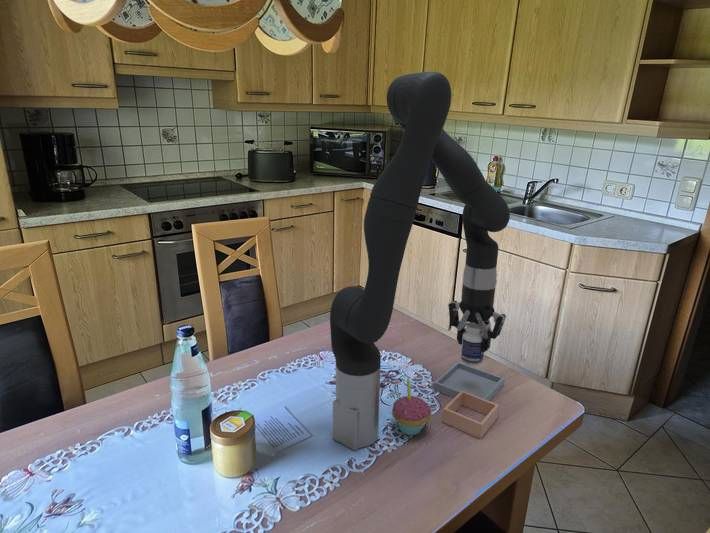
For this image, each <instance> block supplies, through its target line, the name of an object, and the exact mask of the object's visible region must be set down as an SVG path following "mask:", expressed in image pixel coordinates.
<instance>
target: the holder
mask: <svg viewBox="0 0 710 533" xmlns="http://www.w3.org/2000/svg"><path fill="white" fill-rule="evenodd" d="M462 406H463V407H465V408H467V409H471V410H473V411H476V412H478V413H481V414H482V415H485V417H484V418H483V419H482V421H481V422H480V421H478V420H476V419H473V418H471V417H468V416H466V415H464V414H461V413H460V412H457V411H458V410H459V409H460V408H461V407H462ZM499 409H500V405H499V404H498V403H496V402H493V401H491V400H490V401H488V400H485V399H483V398H480V397H478V396H475V395H472V394H470V393H467V392H465V391H461V392H460V393H459V394H458V395H457V396H456V397H455V398H452V399H451V400H450V402H448V404H447V405H445V406H444V407H443V411H442V423H444V424H447V425H449V426H450V427H454V428H456V430H457V429H458V430H460V431H462V432H464V433H465V434H466V433H467V434H468V435H471V436H473V437H475V438H478V439H480V440H481V439H482V438H483V437H484V436H485V434H486V433H487V432H488V430H489V429H490V428H491V427H492V425H493V424H494V423H495V422H496V421H497V419H498V416H499Z"/></svg>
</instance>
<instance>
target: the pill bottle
mask: <svg viewBox="0 0 710 533" xmlns="http://www.w3.org/2000/svg"><path fill="white" fill-rule="evenodd" d="M465 329H466V331H465V332H464V333H463V337H462V345H461V349H460V350H461V351H460V361H461V363H463V364H466V365H469V366H472V367H476V366H477V367H478V366H479V365H481V364H483V362H484V361H483V360H484V354H485V352H482V351H481V349H482V339H483V338H484V336H483V333H482V330H480V327H479V325H478V324H475V323H474V322H468V323H467V325H466V326H465Z"/></svg>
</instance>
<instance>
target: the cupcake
mask: <svg viewBox="0 0 710 533" xmlns="http://www.w3.org/2000/svg"><path fill="white" fill-rule="evenodd" d="M406 384H407V385H406V386H407V395H405V396H404V395H403V396H402V397H400V398H398V399H396V400H395V401H394V402H393V404H392V409H391V410H392V411H391V413H392V414H391V415H392V417H393V418H394V419H395V421H396V423H397V424H398V425H397V426H398V428H399V431H400V432H401V433H403V434H404V435H408V436H414V435H418V434H419V433H420V432H421V431H422V428H423V426H424V424H426V423H427V422H428V421H431V418H432V408H431V406H430V405H429V403H428V402H426V401H425V400H424V399H423V398H421V397H419V396H414V395H412V394H411V392H412V391H411V380H410V379H409V376H407V380H406Z"/></svg>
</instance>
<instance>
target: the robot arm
mask: <svg viewBox="0 0 710 533" xmlns="http://www.w3.org/2000/svg"><path fill="white" fill-rule="evenodd" d="M451 104H452V88H451V84H450V82H449V80H448V78H447V77H446V76H445V74H444V73H441V72H439V71H425V72H416V73H414V72H413V73H407V74H403V75H399V76H398V77H396V78H395V79H393V80H392V82H391V83H390V85H389V87H388V89H387V92H386V105H387V108H388V111H389V113H390V115H391V116H392V118H393V119H394V120H395V121H396V123H397V124H398V125H399V126H400V127H401V128H402V129H403V130H404V131H403V136H402V138H401V141H400V143H399V146H398V148H397V151H395V154H394V155H393V156H392V157H391V160H390V161H389V162H388V163H387V165H386V166H385V168H384V169H383V170H382V172H381V173H380V174H379V176H378V177H377V179H376V181H375V182H374V184H373V186H372V189H371V191H370V193H369V194H370V195H369V198H368V202H367V205H366V209H365V213H364V216H363V217H364V219H363V234H364V240H365V242H364V243H365V246H366V253H367V259H368V260H367V261H368V262H367V263H368V266H367V268H368V269H367V277H366V282H365V284H364V285H365V287H364V289H363V288H361V287H358V286H355V285H352V286H351V285H350V286H346V287H344V288H342V289H341V290H339V291H338V292H337V293H336V295H335V296H334V298H333V299H332V303H331V306H330V312H329V325H330V344H331V351H332V354H333V356H334V359H335V399H334V400H332V439H333V440H335V441H336V442H339V443H340V444H342V445H343V446H345V447H347V448H349V449H351V450H353V451H357V450H358V449H362V448H366V447H369V446H371V445H373V444H374V443H375V442H376V441H377V440H378V438H379V430H380V429H379V428H380V426H379V424H380V422H379V421H380V396H381V394H380V391H381V368H382V367H381V366H382V365H381V364H382V363H381V362H382V361H381V360H382V359H381V357H382V356H381V355H382V354H381V352H380V349H379V347H378V346H376V343H377V342H378V341H379V340H380V339H381V338H383V336H384V335H385V334H386V331H387V329H388V327H389V325H390V322H391V319H392V316H393V309H394V304H395V300H396V293H397V288H398V282H399V281H398V280H399V275H400V271H401V267H402V263H403V261H404V260H403V258H404V256H405V252H406V248H407V243H408V240H409V237H410V233H411V230H412V227H413V224H414V221H415V217H416V214H417V209H418V206H419V203H420V202H419V200H420V197H421V193H422V190H423V186H424V183H425V180H426V177H427V174H428V171H429V170H428V169H429V167H430V163H431V162H432V163H433V164H434V166H435V168H436V169H437V170H438V171H439V173H440V175H441V176H442V177H443V179H444V180H445V182H446V183H447V185H448V187H449V189H450V190H451V191H452V193H453V195H454V196H455V198H457V200H458V201H460V202H461V203H462V204H464V206H463V209H462V214H461V215H462V217H461V218H462V225H463V226H462V227H463V233H464V239H465V242H466V243H465V244H466V254H465V264H464V268H463V269H464V270H463V273H462V274H463V275H462V276H463V277H462V286H461V300H460V301H459V302H458V301H457V300H453V301H451V302H450V303H448V304H447V306H448V315H449V322H450V326H451V327H454V328H456V330H457V332H456V341H457V344H458V345H461V346H462V337H463V333H464V332H465V331H466V326H467V323H469V322H474V323H475V324H478V325H479V327H480V330H482V333H483V336H484V338H483V339H482V349H481V351H482V352H484V353H486V351H488V350H489V349H490V348H491V342H492V340H495V339H497V337H499V336H500V335H501V332H502V329H503V326H504V323H505V321H506V318H507V315H506V314H505V313H501V314H500V313H498V312H496V311H495V308H494V303H495V294H496V286H497V275H498V274H497V269H498V268H497V266H498V256H499V244H498V243H497V241H495V239H493V237H491V236H490V235H489V232H491V233H498V232H501V231H503V230H504V229H505V228H506V227H507V226H508V224H509V222H510V218H511V214H510V213H511V212H510V209H509V205H508V204H507V201H506V200H505V199H504V198H503V197H502V195H500V193H498V191H497V190H496V189H495V188H494V187H493V186H492V185H491V184H490V183H489V182H487V180H486V178H485V176H484V175H483V173H482V171H481V169H480V168H479V166H478V164H477V162H476V161H475V159H474V157H472V155H470V153H469V152H468V151H467V150H466V149H465V148H464V147H463V146H462V145H461V144H459V143H458V142H457V141H456V140H455V139H454V138H452V136H451V135H449V134H448V132H446V131H445V129H444V126H445V124H446V120H447V118H448V115H449V112H450V108H451ZM459 310H460V311H461V313H462V317H461V319H460V316H459ZM491 318H493V323H495V324H494V326H493V328H492V327H491V325H492V323H491V321H490V319H491Z"/></svg>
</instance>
